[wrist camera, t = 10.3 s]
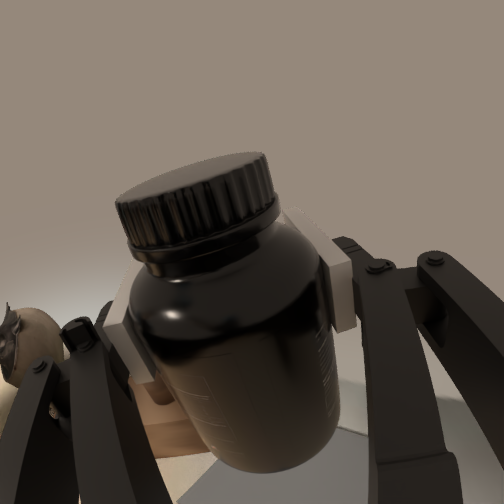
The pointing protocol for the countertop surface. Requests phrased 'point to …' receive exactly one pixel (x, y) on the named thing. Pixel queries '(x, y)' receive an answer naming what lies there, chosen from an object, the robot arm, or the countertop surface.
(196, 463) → the countertop surface
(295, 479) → the slate mat
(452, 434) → the countertop surface
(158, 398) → the plane body block
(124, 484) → the robot arm
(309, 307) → the supplement bottle
